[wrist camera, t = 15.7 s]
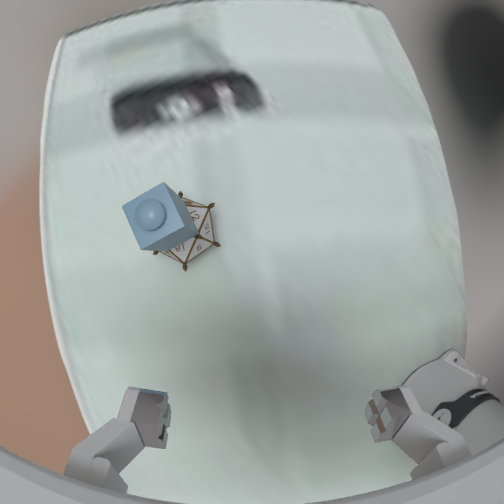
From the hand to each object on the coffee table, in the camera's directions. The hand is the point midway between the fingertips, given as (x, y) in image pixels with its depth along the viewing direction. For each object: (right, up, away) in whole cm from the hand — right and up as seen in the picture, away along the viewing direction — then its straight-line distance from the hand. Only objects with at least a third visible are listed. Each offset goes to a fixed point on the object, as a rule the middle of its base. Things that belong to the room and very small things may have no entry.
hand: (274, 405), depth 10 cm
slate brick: (-9, +9, +20) cm, 24 cm away
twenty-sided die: (-9, +8, +28) cm, 31 cm away
